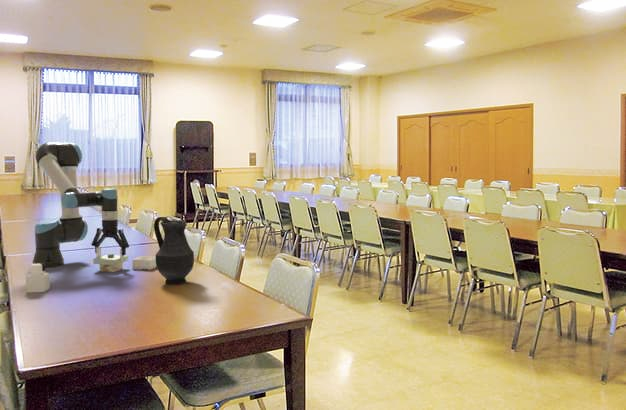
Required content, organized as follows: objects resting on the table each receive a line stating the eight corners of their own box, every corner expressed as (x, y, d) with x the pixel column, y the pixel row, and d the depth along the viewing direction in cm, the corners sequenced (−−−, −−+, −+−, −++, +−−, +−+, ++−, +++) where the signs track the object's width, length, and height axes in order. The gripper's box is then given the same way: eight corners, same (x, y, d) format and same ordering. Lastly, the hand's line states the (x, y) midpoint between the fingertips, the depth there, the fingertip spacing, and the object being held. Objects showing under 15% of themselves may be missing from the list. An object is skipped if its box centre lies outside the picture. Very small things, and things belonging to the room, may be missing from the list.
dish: (132, 268, 298) (132, 259, 297) (142, 265, 307) (142, 255, 307) (149, 270, 295) (149, 260, 295) (159, 266, 305) (159, 256, 304)
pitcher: (175, 288, 256) (173, 220, 253) (142, 282, 267) (140, 217, 264) (202, 281, 270) (201, 217, 267) (170, 276, 281) (169, 214, 278)
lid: (93, 263, 291) (93, 255, 290) (107, 259, 302) (107, 252, 302) (114, 264, 287) (114, 257, 287) (128, 260, 299) (127, 253, 299)
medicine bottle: (33, 288, 254) (32, 261, 253) (50, 288, 255) (48, 261, 254) (26, 292, 247) (25, 265, 246) (43, 292, 248) (42, 264, 247)
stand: (99, 270, 292) (99, 263, 292) (109, 267, 300) (108, 260, 300) (113, 271, 290) (113, 263, 290) (122, 268, 298) (122, 261, 298)
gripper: (83, 218, 292) (84, 260, 295) (127, 221, 286) (128, 263, 288) (92, 217, 300) (93, 257, 302) (135, 219, 293) (136, 260, 295)
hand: (110, 260), depth 295 cm, fingers open, 13 cm apart
